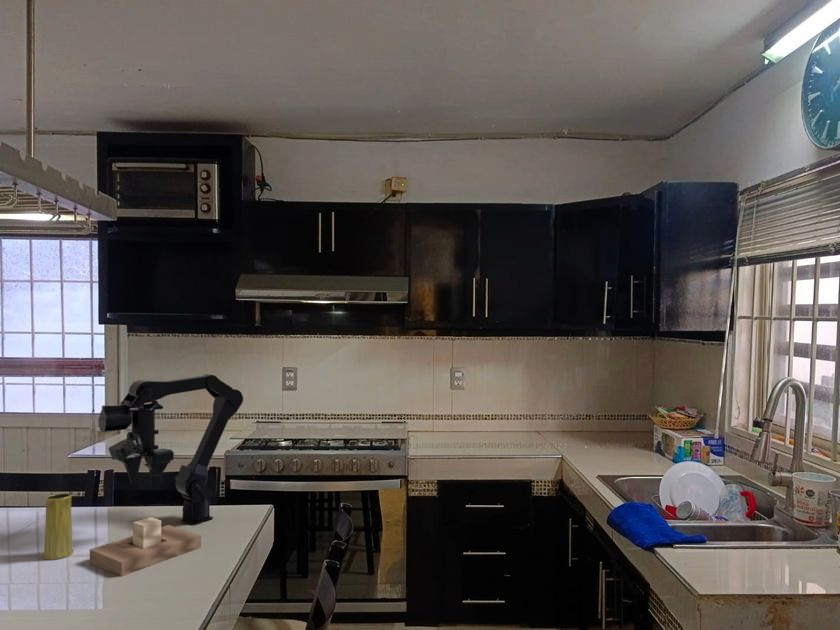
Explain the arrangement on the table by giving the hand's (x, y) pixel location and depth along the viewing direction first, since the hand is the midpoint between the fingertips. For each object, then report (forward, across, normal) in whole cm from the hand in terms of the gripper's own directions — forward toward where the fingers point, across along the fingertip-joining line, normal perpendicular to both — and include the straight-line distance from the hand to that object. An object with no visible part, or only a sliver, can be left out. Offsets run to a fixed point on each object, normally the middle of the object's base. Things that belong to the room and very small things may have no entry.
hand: (143, 485), depth 151 cm
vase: (+13, -4, -19) cm, 24 cm away
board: (+13, +14, -8) cm, 21 cm away
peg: (+13, +14, -8) cm, 21 cm away
